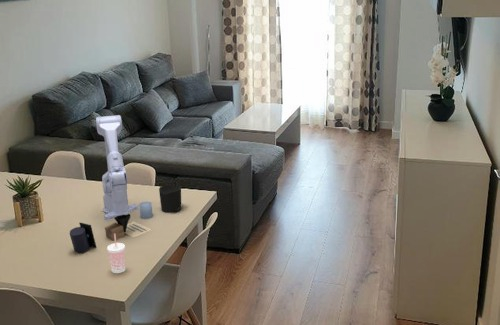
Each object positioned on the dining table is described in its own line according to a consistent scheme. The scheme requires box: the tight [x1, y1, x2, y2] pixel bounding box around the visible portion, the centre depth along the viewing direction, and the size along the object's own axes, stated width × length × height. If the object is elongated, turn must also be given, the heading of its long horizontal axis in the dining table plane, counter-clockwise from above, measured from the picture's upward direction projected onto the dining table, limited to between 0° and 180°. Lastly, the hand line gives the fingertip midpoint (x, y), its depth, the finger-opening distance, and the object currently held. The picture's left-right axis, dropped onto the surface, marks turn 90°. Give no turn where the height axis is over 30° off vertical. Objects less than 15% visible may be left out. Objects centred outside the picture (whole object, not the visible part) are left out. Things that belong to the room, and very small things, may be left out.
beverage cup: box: [106, 233, 126, 274], centre depth 190 cm, size 6×6×14 cm
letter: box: [124, 221, 152, 238], centre depth 223 cm, size 12×9×1 cm
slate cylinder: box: [138, 201, 153, 220], centre depth 233 cm, size 5×5×6 cm
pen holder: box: [158, 184, 182, 214], centre depth 240 cm, size 9×9×10 cm
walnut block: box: [104, 222, 125, 242], centre depth 216 cm, size 5×5×4 cm
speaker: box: [69, 222, 97, 254], centre depth 206 cm, size 8×6×10 cm
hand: (123, 231), depth 219 cm, fingers closed
